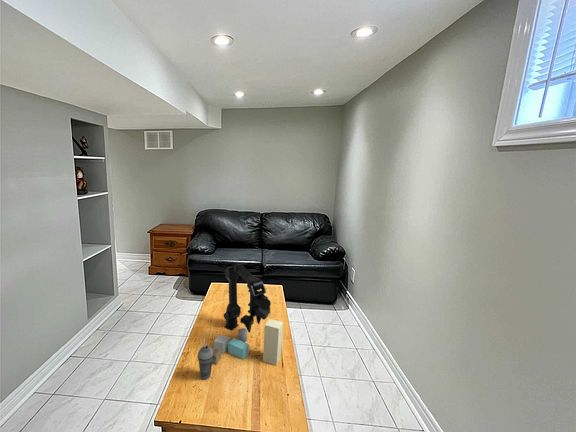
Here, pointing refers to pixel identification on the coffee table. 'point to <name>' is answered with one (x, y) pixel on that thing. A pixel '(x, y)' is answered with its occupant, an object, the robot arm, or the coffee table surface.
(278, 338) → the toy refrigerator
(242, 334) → the grey cylinder
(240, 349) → the teal long brick
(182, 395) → the coffee table surface
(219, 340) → the grey square brick
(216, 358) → the walnut cube
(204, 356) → the beverage cup
